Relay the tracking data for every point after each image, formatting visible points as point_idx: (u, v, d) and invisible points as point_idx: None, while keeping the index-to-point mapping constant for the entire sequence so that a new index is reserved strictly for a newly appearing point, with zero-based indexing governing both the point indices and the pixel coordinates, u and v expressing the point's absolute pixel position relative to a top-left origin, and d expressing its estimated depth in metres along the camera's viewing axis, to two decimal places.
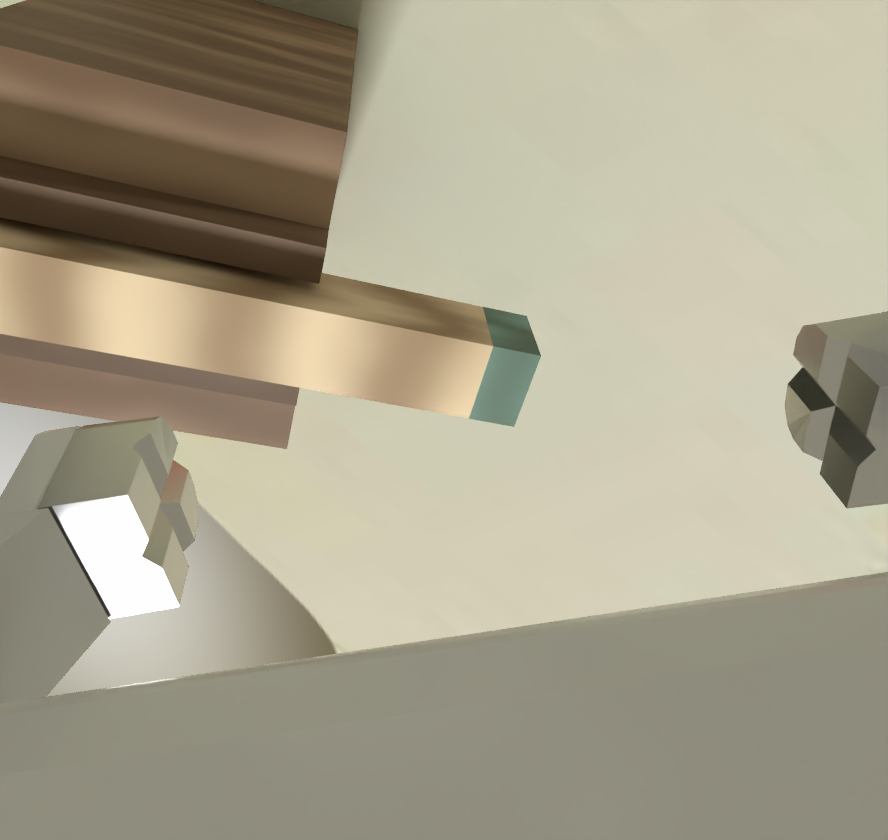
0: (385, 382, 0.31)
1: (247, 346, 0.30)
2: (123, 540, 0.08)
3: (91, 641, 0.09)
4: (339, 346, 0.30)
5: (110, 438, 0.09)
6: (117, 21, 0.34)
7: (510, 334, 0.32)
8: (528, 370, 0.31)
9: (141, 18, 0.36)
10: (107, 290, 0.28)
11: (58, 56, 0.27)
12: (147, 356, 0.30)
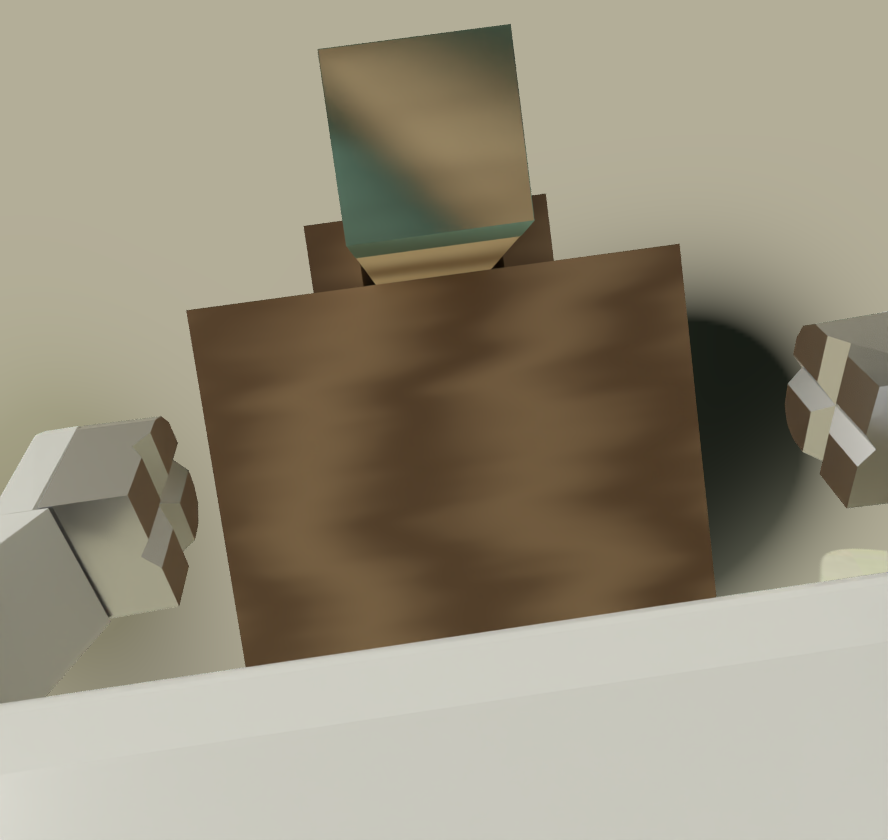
0: None
1: None
2: (123, 540, 0.08)
3: (91, 641, 0.09)
4: None
5: (110, 438, 0.09)
6: None
7: None
8: None
9: None
10: None
11: None
12: None
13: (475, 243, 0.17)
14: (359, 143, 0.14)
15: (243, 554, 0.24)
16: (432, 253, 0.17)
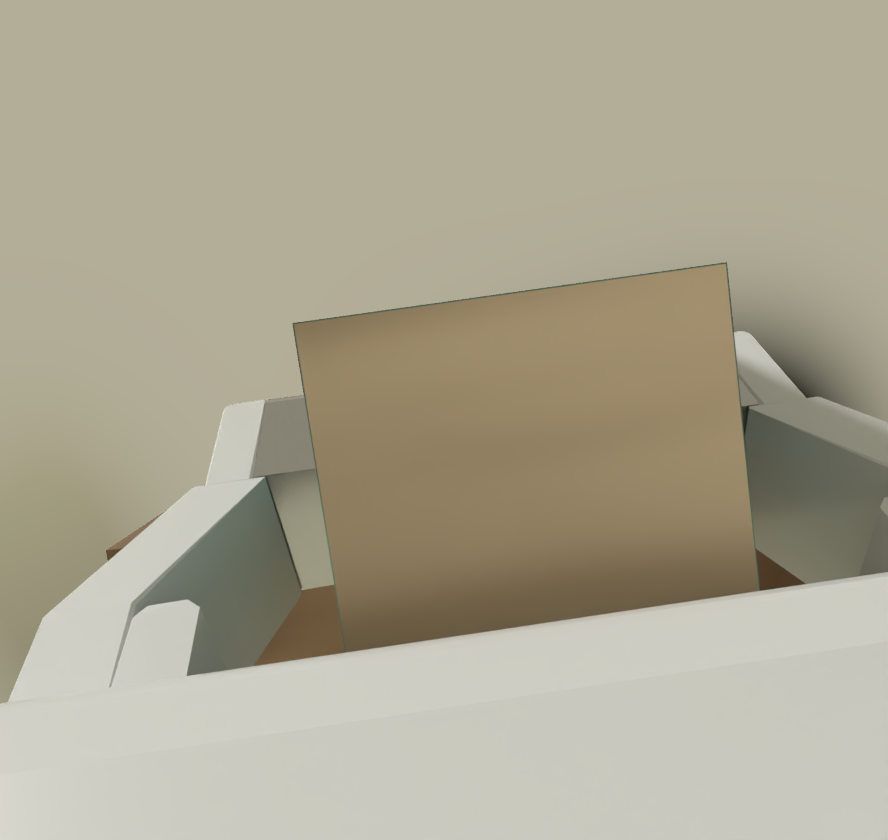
0: None
1: None
2: None
3: (286, 612, 0.09)
4: None
5: (304, 410, 0.09)
6: None
7: None
8: None
9: None
10: None
11: None
12: None
13: None
14: (387, 526, 0.06)
15: None
16: None
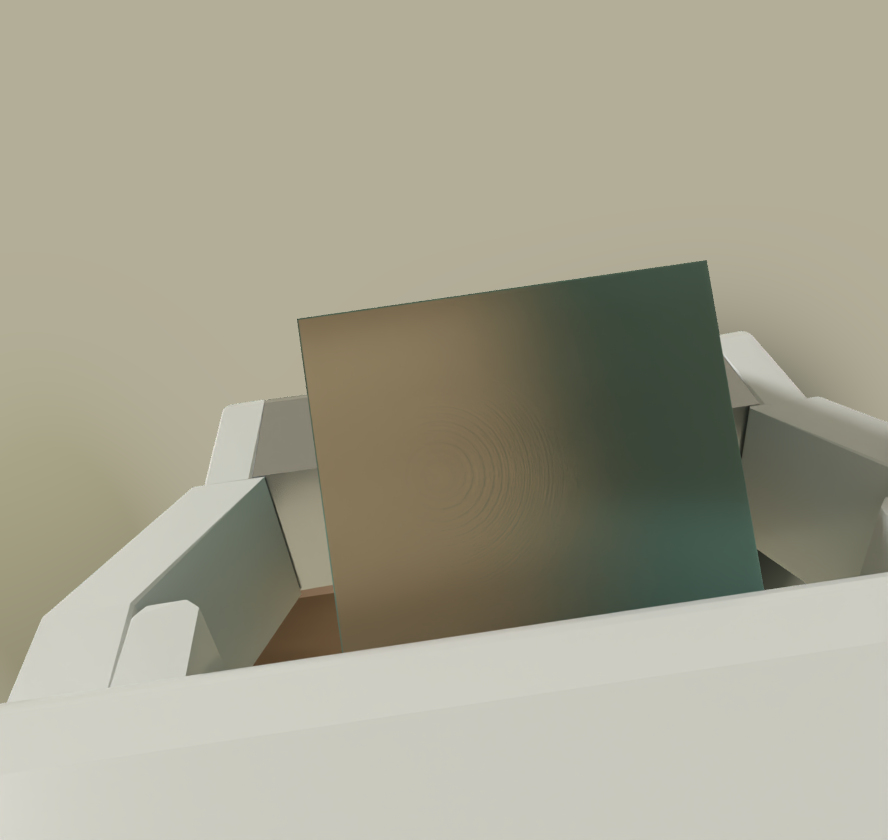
0: None
1: None
2: None
3: (286, 613, 0.09)
4: None
5: (303, 411, 0.09)
6: None
7: None
8: None
9: None
10: None
11: None
12: None
13: None
14: (385, 515, 0.06)
15: None
16: None
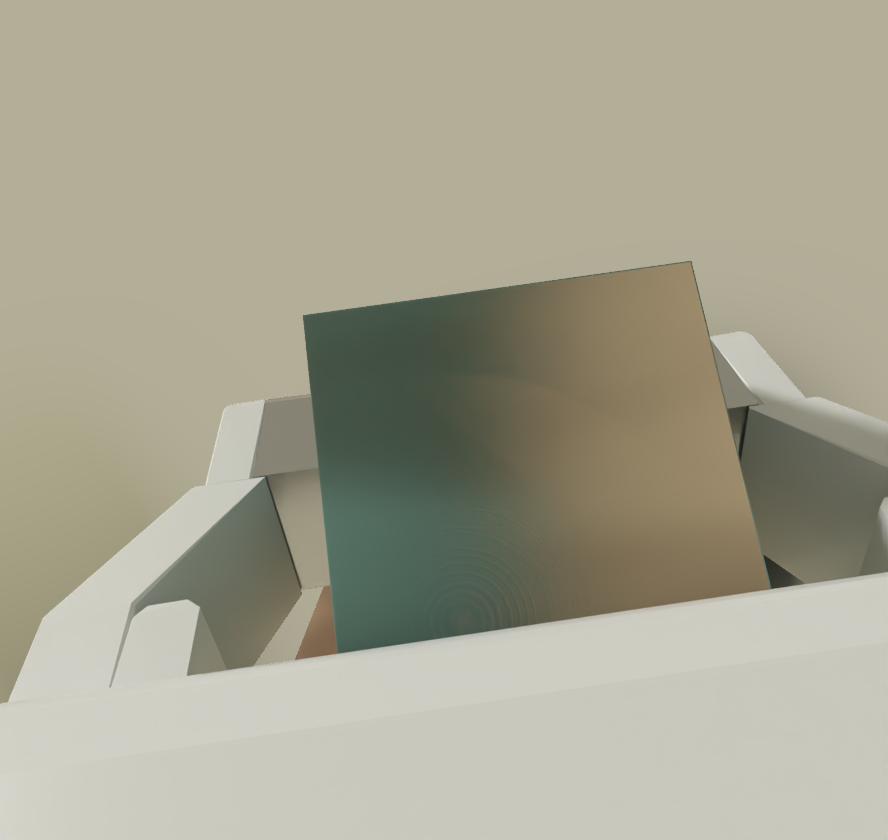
0: None
1: None
2: None
3: (286, 612, 0.09)
4: None
5: (304, 411, 0.09)
6: None
7: None
8: None
9: None
10: None
11: None
12: None
13: None
14: (381, 498, 0.06)
15: None
16: None
